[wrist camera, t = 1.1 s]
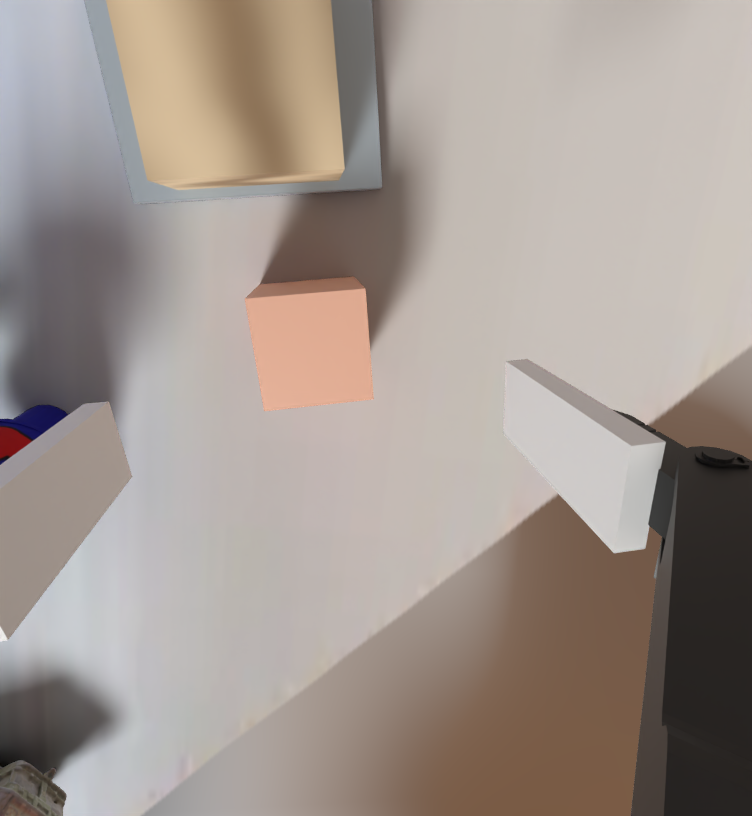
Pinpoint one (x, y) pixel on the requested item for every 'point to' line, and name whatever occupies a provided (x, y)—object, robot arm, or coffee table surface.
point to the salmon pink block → (311, 342)
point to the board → (359, 174)
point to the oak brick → (231, 90)
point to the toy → (26, 428)
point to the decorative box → (29, 791)
